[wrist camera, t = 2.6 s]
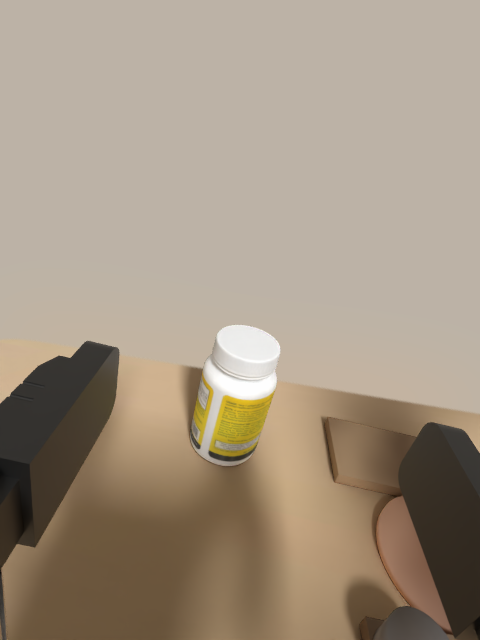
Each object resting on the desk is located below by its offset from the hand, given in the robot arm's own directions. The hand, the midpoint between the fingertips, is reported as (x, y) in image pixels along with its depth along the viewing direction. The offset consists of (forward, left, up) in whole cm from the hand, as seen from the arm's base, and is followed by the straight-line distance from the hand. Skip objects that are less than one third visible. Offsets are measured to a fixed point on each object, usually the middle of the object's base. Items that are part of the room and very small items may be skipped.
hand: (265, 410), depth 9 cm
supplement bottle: (0, -11, -14) cm, 18 cm away
